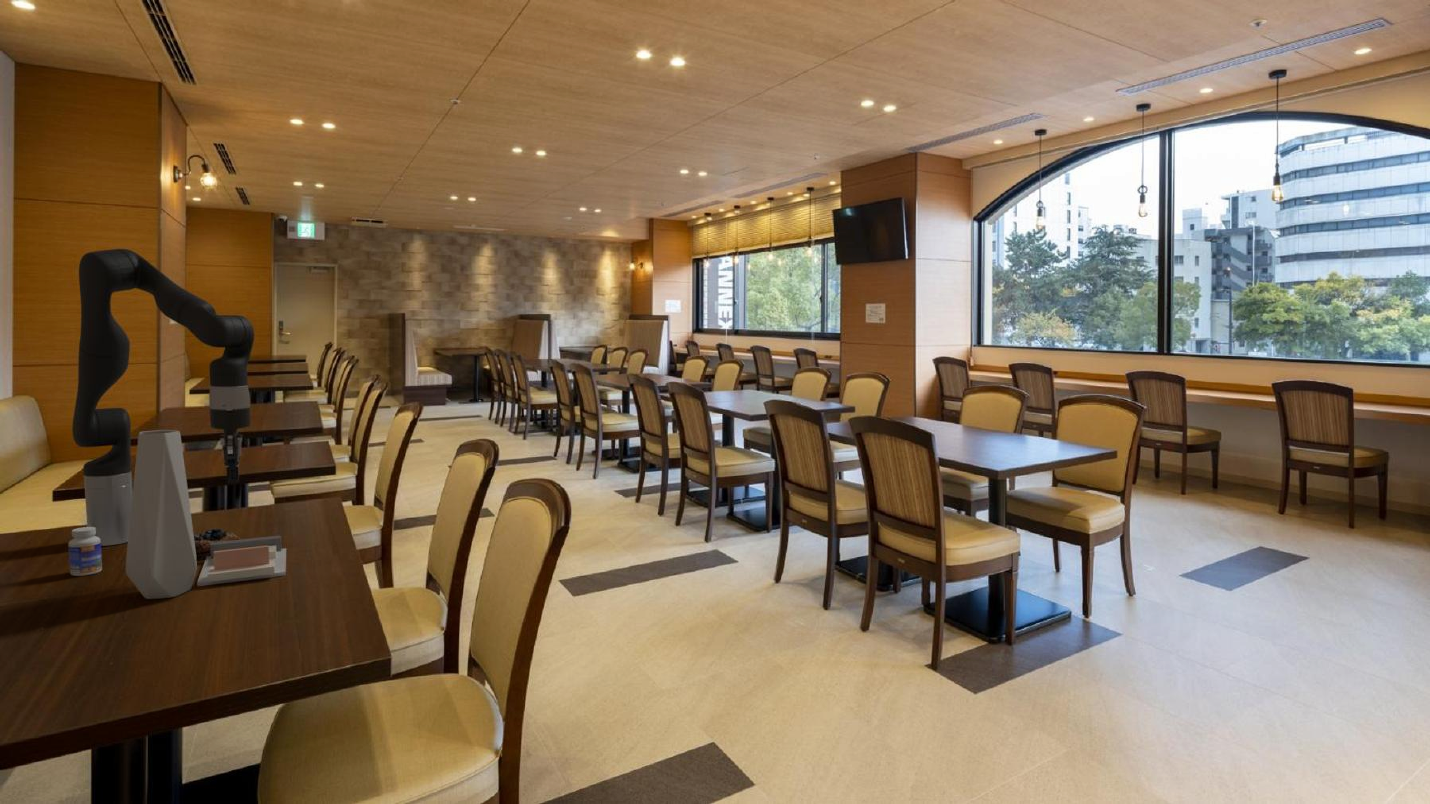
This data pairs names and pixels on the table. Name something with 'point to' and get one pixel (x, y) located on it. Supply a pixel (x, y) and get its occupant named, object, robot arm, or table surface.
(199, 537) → the pastry
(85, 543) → the pill bottle
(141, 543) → the vase
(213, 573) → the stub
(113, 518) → the robot arm
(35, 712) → the table surface
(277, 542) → the white tray
